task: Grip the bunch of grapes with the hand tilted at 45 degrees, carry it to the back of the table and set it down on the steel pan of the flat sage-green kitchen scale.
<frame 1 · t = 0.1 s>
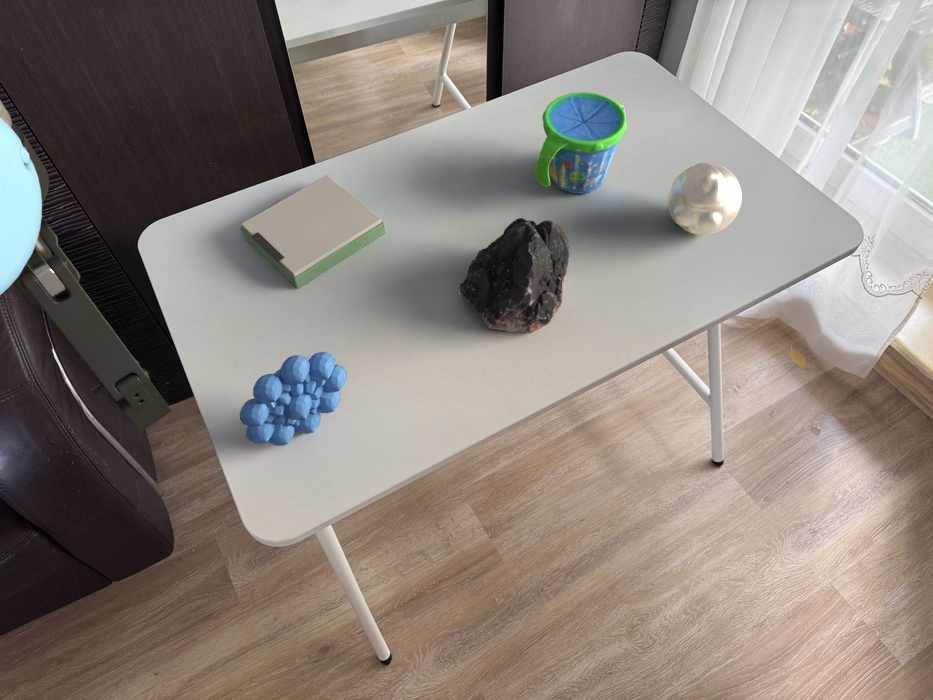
hand: (112, 366, 57), 21 cm above the table, tool pointing down, fingers open, 13 cm apart
grapes: (304, 423, 78), on the table
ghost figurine: (694, 227, 93), on the table
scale: (314, 234, 94), on the table
snack cup: (577, 179, 99), on the table
dark rock: (515, 294, 88), on the table
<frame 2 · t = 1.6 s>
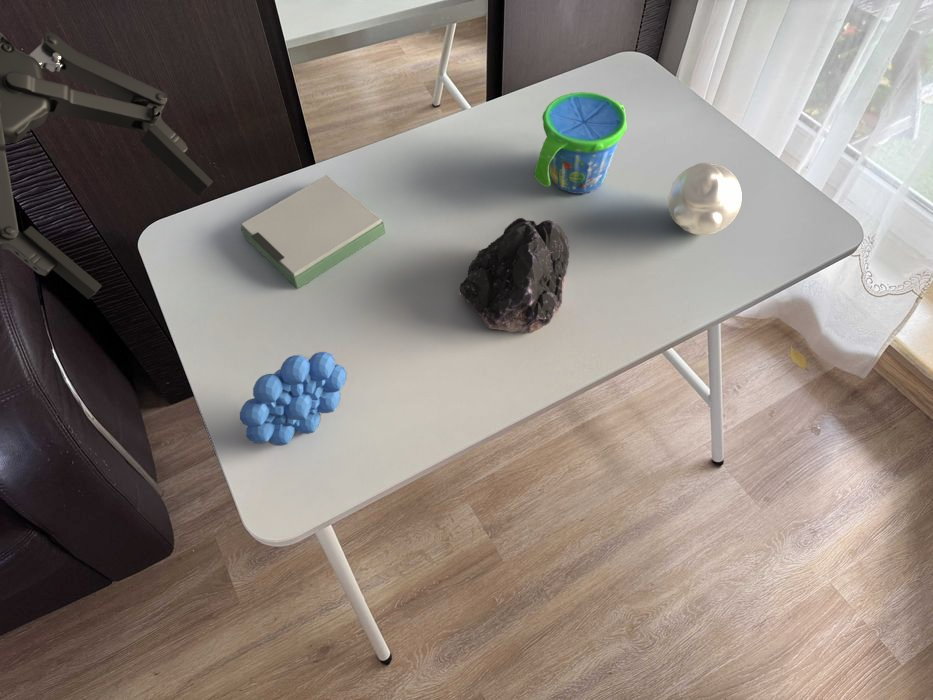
hand: (154, 238, 61), 24 cm above the table, tool tilted 45°, fingers open, 13 cm apart
nothing on the table moved.
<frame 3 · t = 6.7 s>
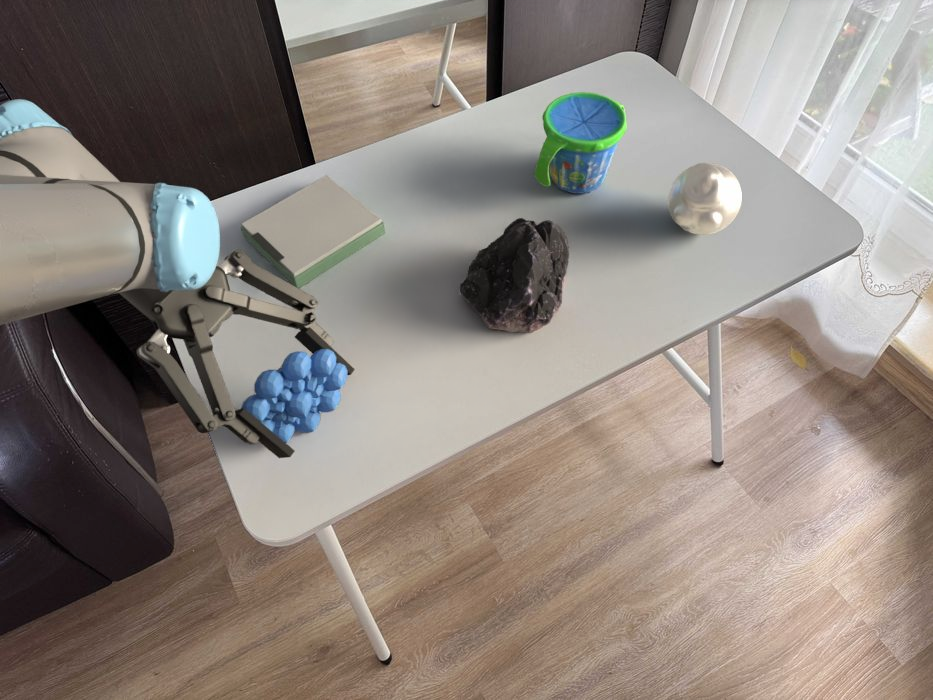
hand: (318, 412, 73), 4 cm above the table, tool tilted 45°, fingers closed on grapes, 10 cm apart
grapes: (303, 423, 78), on the table, touching gripper
everything else where it was.
when the fingers open (7 cm above the table, at t = 15.8 s): grapes stays where it is, resting on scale.
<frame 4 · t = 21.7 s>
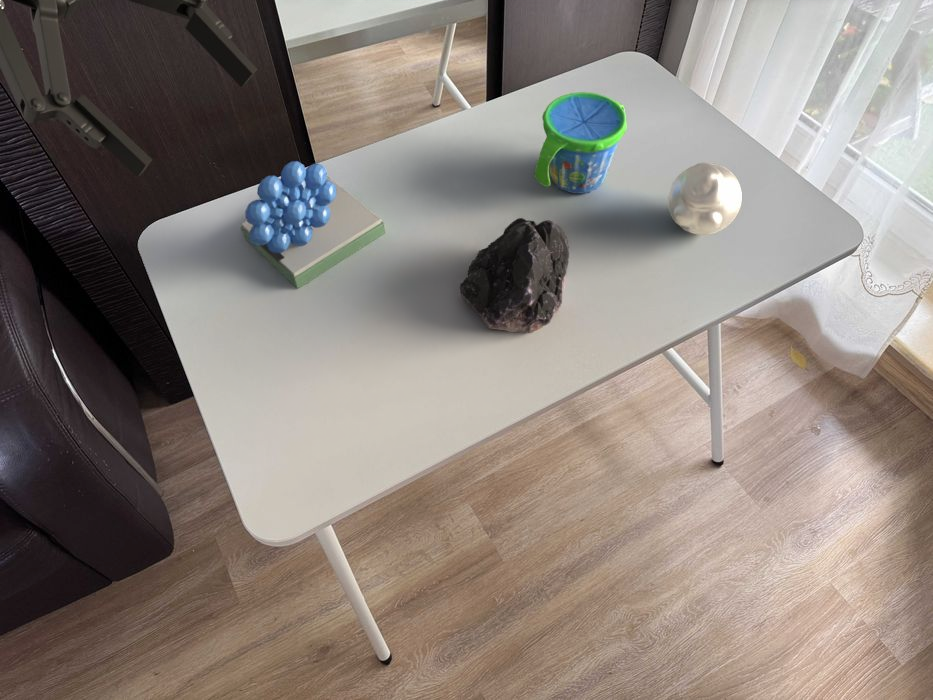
hand: (200, 121, 61), 30 cm above the table, tool tilted 45°, fingers open, 13 cm apart
grapes: (298, 241, 90), point 2 cm above the table, touching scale
everything else where it was.
at the end: grapes inside the target area on the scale (3.6 cm from its centre), point 2.3 cm above the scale's base; the gripper is holding nothing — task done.
